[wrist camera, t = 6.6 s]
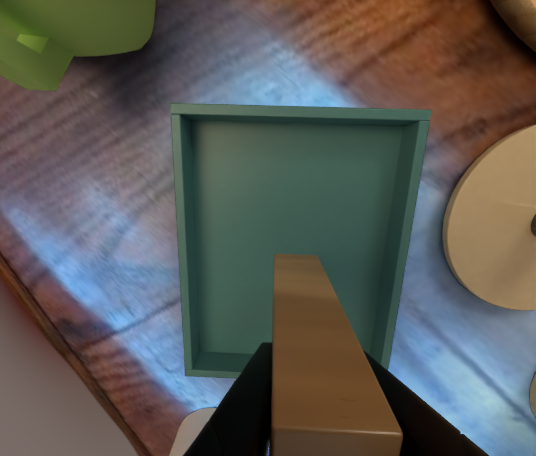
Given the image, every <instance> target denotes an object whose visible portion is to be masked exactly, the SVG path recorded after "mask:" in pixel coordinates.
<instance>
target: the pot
mask: <svg viewBox="0 0 536 456" xmlns="http://www.w3.org/2000/svg"><path fill="white" fill-rule="evenodd" d="M529 398H530V406H531V409H532V412H533V414H534V416H535V418H536V373H535V375H534V378H533V380H532V383H531V387H530V396H529Z"/></svg>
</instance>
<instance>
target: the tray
mask: <svg viewBox="0 0 536 456" xmlns="http://www.w3.org/2000/svg"><path fill="white" fill-rule="evenodd" d="M170 113H171V131H172V149H173V166H174V184H175V202H176V220H177V238H178V256H179V274H180V291H181V309H182V327H183V345H184V363H185V376H195V377H216V378H238V376H239V375H240V373H241V372H242V370H243V369H244V368H245V366H246V365H247V363H248V362H249V360H250V359H251V357H252V356H253V354H254V353H255V352H256V350H257V349H258V347H259V346H260V344H261V343H262V342H270V343H272V300H273V268H274V254H299V255H317V256H318V258H319V260H320V262H321V264H322V266H323V268H324V270H325V273H326V275H327V277H328V279H329V281H330V283H331V285H332V287H333V289H334V291H335V293H336V295H337V298H338V300H339V302H340V304H341V306H342V308H343V310H344V312H345V314H346V316H347V318H348V320H349V322H350V325H351V327H352V329H353V331H354V333H355V335H356V337H357V339H358V341H359V343H360V345H361V347H362V349H363V350H364V351H365V352H366V353H368V354H369V355H370V356H371V357H372V358H374V359H375V360H376V361H377V362H378V363H379V364H381V365H382V366H383V367H384V368H385V369H387V370H388V366H389V360H390V354H391V348H392V342H393V336H394V330H395V324H396V318H397V313H398V307H399V301H400V295H401V289H402V283H403V277H404V271H405V265H406V259H407V253H408V247H409V241H410V235H411V229H412V223H413V217H414V211H415V205H416V199H417V194H418V188H419V182H420V176H421V170H422V164H423V158H424V152H425V146H426V140H427V134H428V128H429V121H430V116H431V110H418V109H380V108H342V107H304V106H265V105H227V104H189V103H170Z"/></svg>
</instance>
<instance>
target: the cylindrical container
mask: <svg viewBox="0 0 536 456" xmlns="http://www.w3.org/2000/svg"><path fill="white" fill-rule="evenodd" d="M215 410H216V408H212V407H211V408H203V409H200V410H196V411H195V412H193V413H191V414H189V415H188V416H187V417H186V418H185V419H184V420H183V421H182V423H181V425H180V427H179V430H178V433H177V435H176V438H175V441H174V444H173V446H172V449H171V452H170V455H169V456H183V455H184V453H185V452H186V451H187V449H188V448H189V447H190V445H191V444H192V443H193V441H194V440H195V439H196V437H197V436H198V434H199V433H200V432H201V430H202V429H203V427H204V426H205V424H206V423H207V421H209V419H210V417H211V416H212V414H213V413H214V411H215Z"/></svg>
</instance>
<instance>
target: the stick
mask: <svg viewBox="0 0 536 456" xmlns="http://www.w3.org/2000/svg"><path fill="white" fill-rule="evenodd" d="M402 439H403V433H402V431H401V428H400V426H399V424H398V422H397V420H396V418H395V416H394V414H393V412H392V410H391V408H390V406H389V404H388V401H387V399H386V397H385V395H384V393H383V391H382V389H381V387H380V385H379V383H378V381H377V379H376V377H375V374H374V372H373V370H372V368H371V366H370V364H369V362H368V360H367V358H366V356H365V354H364V352H363V349H362V347H361V345H360V343H359V341H358V339H357V337H356V335H355V333H354V331H353V329H352V327H351V325H350V322H349V320H348V318H347V316H346V314H345V312H344V310H343V308H342V306H341V304H340V302H339V300H338V298H337V295H336V293H335V291H334V289H333V287H332V285H331V283H330V281H329V279H328V277H327V275H326V273H325V270H324V268H323V266H322V264H321V262H320V260H319V258H318V256H317V255H299V254H274V268H273V300H272V386H271V413H270V439H269V456H399V455H400V450H401V444H402Z"/></svg>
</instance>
